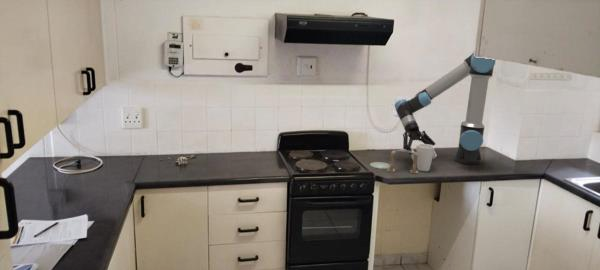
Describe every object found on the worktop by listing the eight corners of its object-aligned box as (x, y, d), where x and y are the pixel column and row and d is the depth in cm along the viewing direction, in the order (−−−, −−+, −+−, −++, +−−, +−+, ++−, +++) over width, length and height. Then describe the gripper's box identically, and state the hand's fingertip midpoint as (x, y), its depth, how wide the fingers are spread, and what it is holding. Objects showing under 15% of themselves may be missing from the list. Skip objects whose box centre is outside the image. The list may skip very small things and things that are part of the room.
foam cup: (434, 172, 260) (436, 148, 257) (416, 171, 260) (418, 147, 257) (429, 167, 270) (432, 144, 267) (412, 166, 270) (415, 143, 267)
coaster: (389, 163, 273) (389, 162, 273) (391, 169, 262) (391, 168, 262) (369, 162, 274) (369, 161, 273) (370, 168, 263) (370, 167, 263)
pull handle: (415, 169, 264) (417, 150, 261) (418, 173, 257) (420, 153, 254) (386, 167, 265) (388, 148, 262) (388, 171, 258) (389, 151, 255)
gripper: (424, 127, 280) (439, 159, 271) (388, 130, 270) (402, 163, 260) (431, 120, 275) (447, 153, 265) (395, 122, 264) (410, 156, 254)
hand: (425, 158), depth 262 cm, fingers open, 13 cm apart
